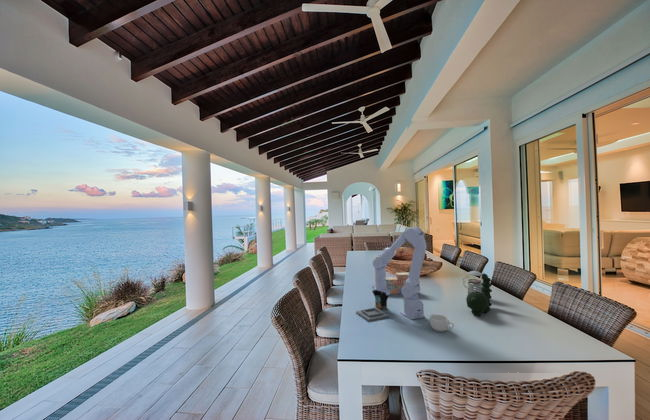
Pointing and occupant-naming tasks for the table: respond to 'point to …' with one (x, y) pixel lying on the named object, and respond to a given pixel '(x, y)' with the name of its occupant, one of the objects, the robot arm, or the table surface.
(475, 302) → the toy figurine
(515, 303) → the table surface
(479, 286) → the french press
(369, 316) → the plate
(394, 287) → the stack of blocks
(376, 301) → the block stack
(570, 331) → the table surface
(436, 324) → the teacup
